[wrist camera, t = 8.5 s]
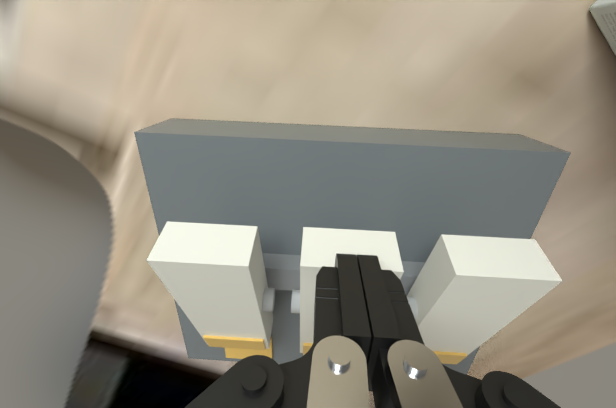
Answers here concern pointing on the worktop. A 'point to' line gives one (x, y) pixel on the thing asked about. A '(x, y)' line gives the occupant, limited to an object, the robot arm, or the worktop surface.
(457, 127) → the worktop surface
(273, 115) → the worktop surface
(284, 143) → the console
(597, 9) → the supplement box
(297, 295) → the rocker mid
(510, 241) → the rocker
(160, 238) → the rocker
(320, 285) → the robot arm
